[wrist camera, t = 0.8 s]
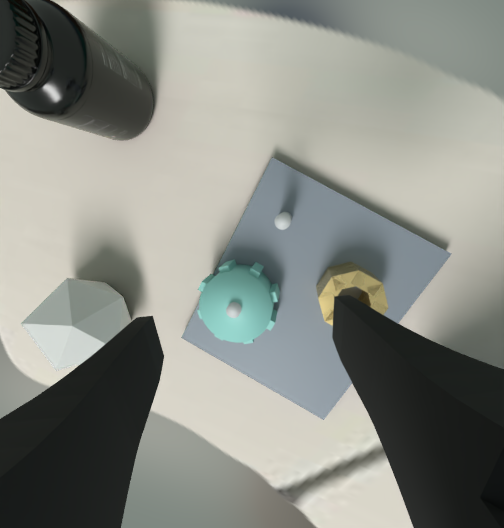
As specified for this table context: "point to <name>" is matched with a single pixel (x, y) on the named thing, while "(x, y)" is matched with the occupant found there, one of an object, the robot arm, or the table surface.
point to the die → (76, 321)
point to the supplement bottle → (70, 72)
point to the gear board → (301, 284)
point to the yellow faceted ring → (347, 278)
